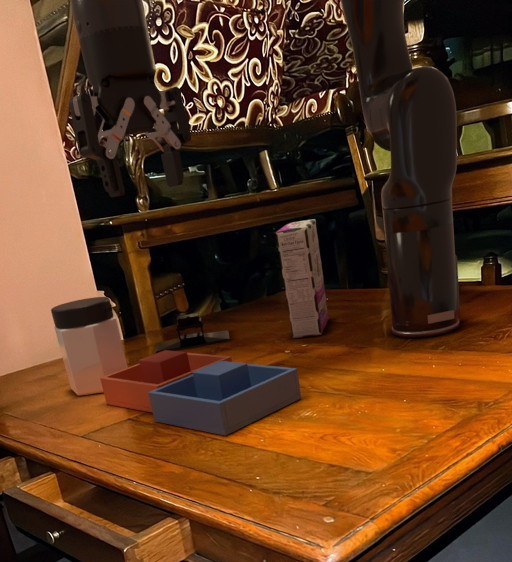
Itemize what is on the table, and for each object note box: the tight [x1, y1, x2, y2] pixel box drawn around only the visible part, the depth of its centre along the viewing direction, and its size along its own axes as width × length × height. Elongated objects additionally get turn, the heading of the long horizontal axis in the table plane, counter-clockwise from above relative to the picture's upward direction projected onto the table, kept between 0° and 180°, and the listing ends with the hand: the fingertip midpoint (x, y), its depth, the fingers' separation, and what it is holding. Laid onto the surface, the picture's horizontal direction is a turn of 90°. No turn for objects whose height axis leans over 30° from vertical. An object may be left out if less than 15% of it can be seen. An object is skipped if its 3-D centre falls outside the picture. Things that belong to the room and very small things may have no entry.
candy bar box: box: [275, 218, 330, 339], centre depth 109 cm, size 11×5×16 cm, turn 168°
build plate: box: [155, 312, 231, 354], centre depth 117 cm, size 12×7×5 cm, turn 94°
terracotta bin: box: [100, 352, 233, 414], centre depth 90 cm, size 12×12×4 cm
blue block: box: [192, 361, 251, 401], centre depth 79 cm, size 4×4×4 cm
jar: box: [50, 296, 129, 396], centre depth 98 cm, size 9×8×12 cm
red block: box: [138, 350, 191, 384], centre depth 89 cm, size 4×4×4 cm
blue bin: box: [148, 363, 302, 437], centre depth 79 cm, size 12×12×4 cm
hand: (147, 190), depth 81 cm, fingers open, 8 cm apart
